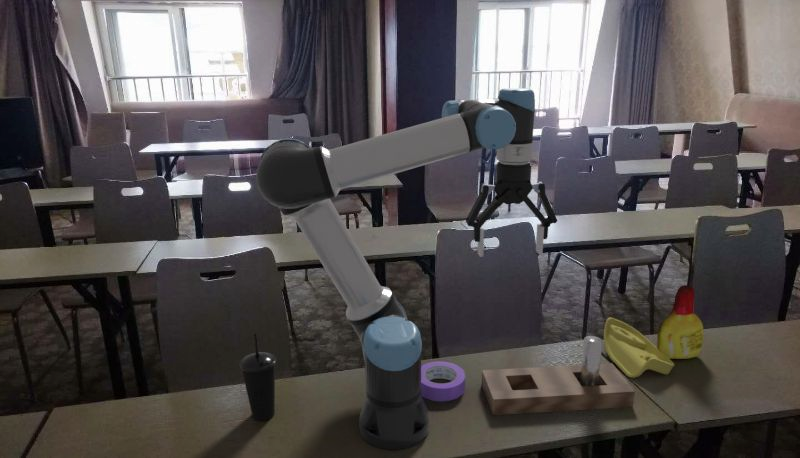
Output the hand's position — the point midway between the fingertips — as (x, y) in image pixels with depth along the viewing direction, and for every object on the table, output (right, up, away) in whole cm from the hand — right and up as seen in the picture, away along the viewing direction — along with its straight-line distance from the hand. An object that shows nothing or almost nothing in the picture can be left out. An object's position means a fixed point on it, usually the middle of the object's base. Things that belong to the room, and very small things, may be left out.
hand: (509, 253), depth 130 cm
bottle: (+47, -28, +19) cm, 58 cm away
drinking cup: (-56, -36, -2) cm, 66 cm away
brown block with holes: (+11, -33, +3) cm, 35 cm away
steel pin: (+19, -33, +3) cm, 38 cm away
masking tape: (-15, -33, +7) cm, 37 cm away
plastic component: (+36, -28, +18) cm, 49 cm away
